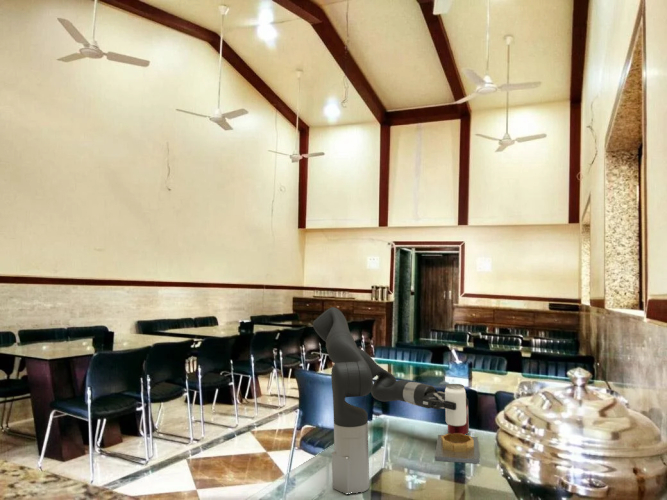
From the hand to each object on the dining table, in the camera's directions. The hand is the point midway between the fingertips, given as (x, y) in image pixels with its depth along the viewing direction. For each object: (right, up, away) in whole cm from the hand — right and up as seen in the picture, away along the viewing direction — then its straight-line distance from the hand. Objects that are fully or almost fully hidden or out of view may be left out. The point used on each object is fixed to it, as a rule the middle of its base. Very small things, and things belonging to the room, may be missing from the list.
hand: (461, 404), depth 156 cm
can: (-1, -7, +2) cm, 7 cm away
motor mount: (-1, -15, +1) cm, 15 cm away
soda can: (+3, -16, +17) cm, 23 cm away
